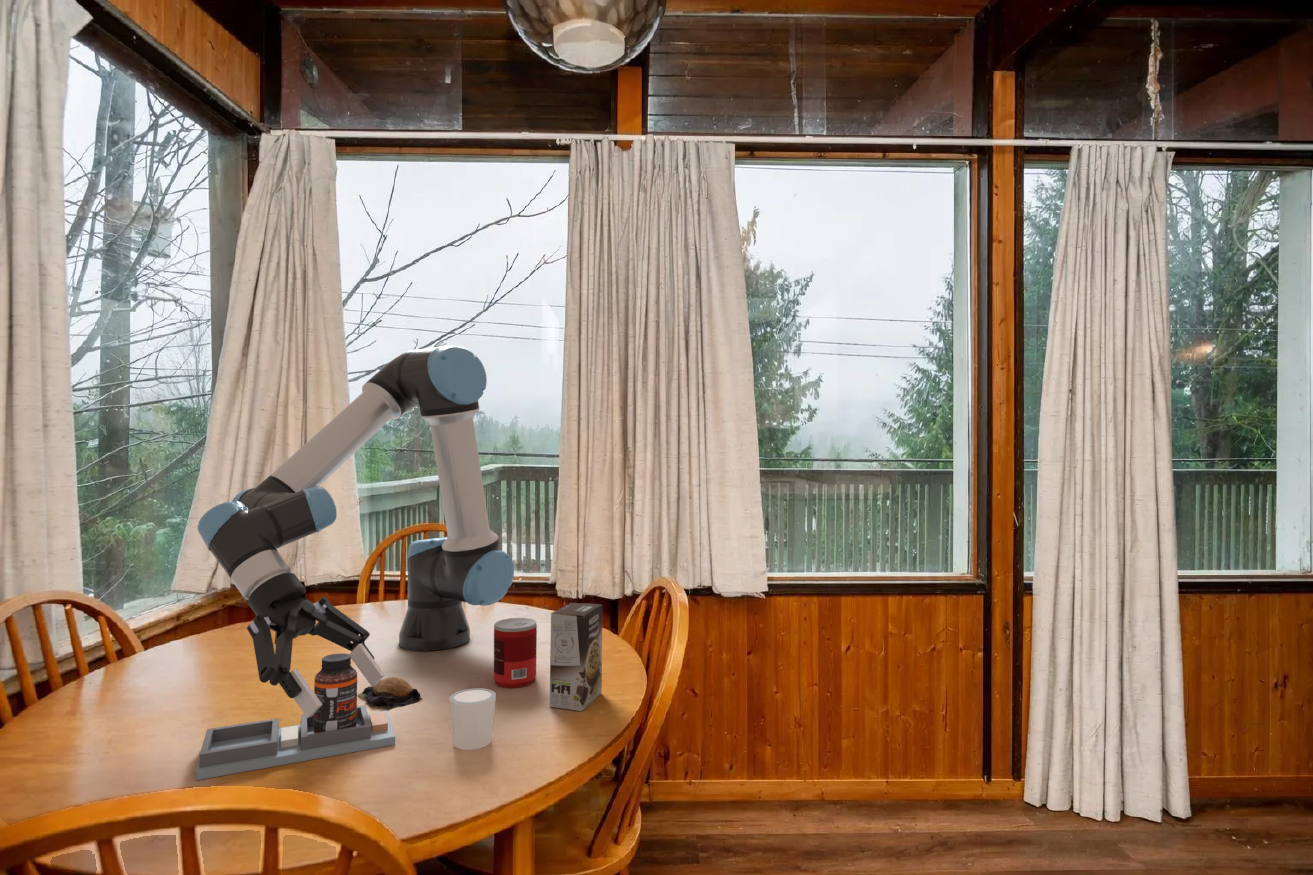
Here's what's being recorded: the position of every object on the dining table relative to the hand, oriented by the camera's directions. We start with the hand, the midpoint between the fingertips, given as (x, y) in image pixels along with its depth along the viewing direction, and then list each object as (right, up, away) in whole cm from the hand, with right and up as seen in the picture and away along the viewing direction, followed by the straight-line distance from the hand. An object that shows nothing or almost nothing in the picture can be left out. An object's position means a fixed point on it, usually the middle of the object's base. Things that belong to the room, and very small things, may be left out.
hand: (348, 695), depth 106 cm
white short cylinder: (+18, -7, +1) cm, 20 cm away
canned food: (+19, -7, +27) cm, 34 cm away
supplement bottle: (-2, -6, +1) cm, 7 cm away
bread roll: (-1, -8, +18) cm, 20 cm away
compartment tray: (-7, -7, -1) cm, 10 cm away
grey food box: (+32, -8, +18) cm, 37 cm away
